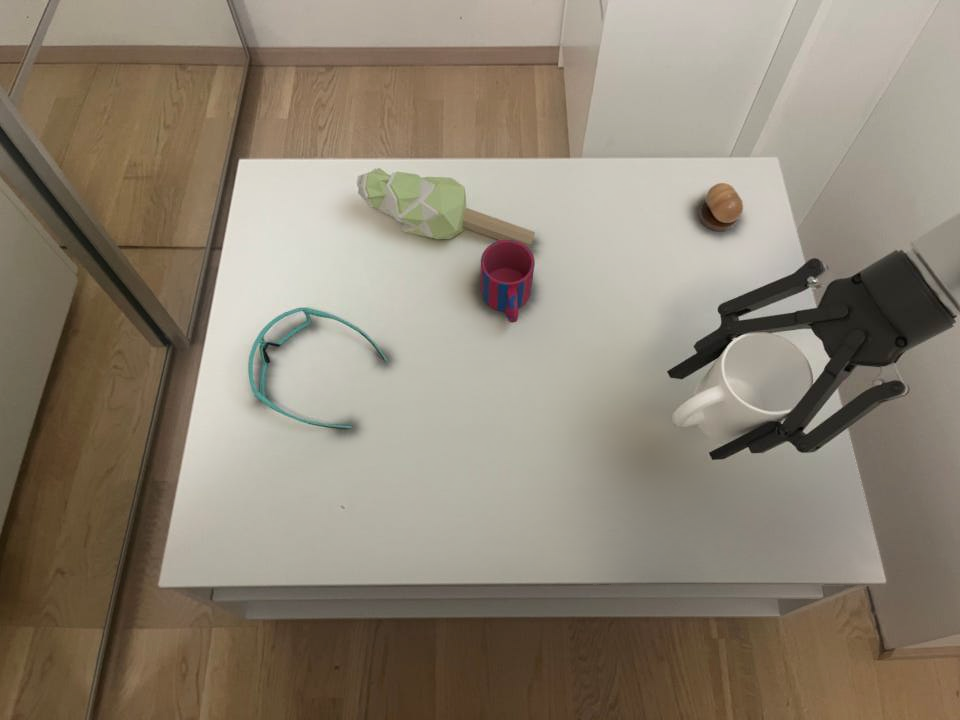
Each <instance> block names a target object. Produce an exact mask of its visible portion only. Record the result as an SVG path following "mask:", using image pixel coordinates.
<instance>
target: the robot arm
mask: <svg viewBox="0 0 960 720" xmlns="http://www.w3.org/2000/svg"><path fill="white" fill-rule="evenodd" d="M909 246H910V247H911V249H910V250H909V249H908V251H904V250H903V249H900V250H897V249H895V250H893V251H892V252H890V253H889V254H888V253H887V254H886V255H885V256H883V257H882V258H880V259H878V260H877V261H875V262H872V264H870V265H868V266H867V267H864V268H862V270H860V271H858V272H857V273H855V274H853V275H852V276H848V277H843V278H837V277H836V276H835V275H834V274H833V273H832V272H831V271H830V268H829V265H827V264H826V263H825V262H823V261H822V260H820V259H819V258H818V257H817V258H816V257H812V258H810V259H809V260H808V261H806V262H805V263H804V264H803V265H801V267H799V268H798V269H797V270H796V271H794V272H793V273H792V274H789V275H786V276H784V277H782V278H779V279H777V280H775V281H772V282H769V283H767V284H765V285H762V286H760V287H758V288H755V289H752V290H751V291H748V292H746V293H743V294H741V295H739V296H737V297H733V298H731V299H729V300H726V301H724V302H722V303H720V304H719V305H718V306H717V313H718V315H719V316H720V325H719V327H718V328H717V329H715V330H714V331H712V332H711V333H709V334H707V335H706V336H703V338H701V339H699V340H697V341H696V342H695V343H694V345H693V348H694V350H695V351H696V353H694V354H692V355H691V356H689V357H688V358H686V359H685V360H683V361H681V362H679V363H678V364H676V365H674V366H673V367H671V368H670V369H668V370H667V371H666V372H667V375H668V376H669V378H670V379H675V380H684V379H685V378H687V377H689V376H691V375H692V374H694V373H696V372H697V371H699V370H701V369H702V368H704V367H706V366H707V365H709V364H711V363H712V362H714V361H716V360H717V359H718V358H719V357H720V355H721V354H722V353H723V351H724V350H725V349H726V347H727V346H728V345H729V344H730V343H731V342H732V341H733V340H734V339H736V338H737V337H739V336H741V335H744V334H747V333H757V332H767V333H772V334H777V333H782V332H791V331H799V330H811V331H812V333H813V334H814V335H815V337H816V338H818V339H819V340H820V341H821V343H822V346H823V349H824V352H825V353H826V355H827V356H828V358H829V361H828V362H827V363H826V364H825V366H824V368H823V370H822V372H821V373H820V375H819V376H818V377H817V378H816V379H815V381H813V385H812V386H811V387H810V389H809V390H808V391H807V393H806V394H805V395H804V396H803V398H802V399H801V400H800V401H799V403H798V404H797V405H796V407H795V408H794V409H793V410H792V412H791V413H790V414H789V415H788V417H787V418H786V419H785V420H784V421H783V422H775V421H770V422H768V423H766V424H764V425H762V426H760V427H758V428H756V429H754V430H752V431H750V432H748V433H746V434H744V435H742V436H741V437H739V438H737V439H735V440H733V441H731V442H729V443H727V444H725V445H721V446H719V447H717V448H715V449H713V450H711V451H709V452H708V454H709V457H710V458H711V460H712V461H720V460H725V459H727V458H729V457H731V456H733V455H735V454H737V453H739V452H741V451H743V450H745V449H747V448H748V450H749V452H750V454H764V453H766V452H768V451H770V450H772V449H774V448H776V447H779V446H781V445H782V444H785V443H787V442H788V443H789V444H791V445H793V447H795V449H796V450H797V451H798V452H799V453H801V454H809V453H810V454H811V453H816V452H817V451H818V450H820V449H821V448H822V447H824V446H825V445H826V444H828V443H830V442H831V441H832V440H834V439H835V438H836V437H838V436H839V435H841V433H843V432H844V431H846V430H848V429H849V428H850V427H851V426H852V425H854V424H855V423H857V422H858V421H860V420H861V419H863V418H864V417H865V416H866V415H868V414H869V413H871V412H872V411H873V410H875V409H876V408H877V407H879V406H880V405H882V404H883V403H886V402H889V401H893V400H897V399H899V398H902V397H906V396H907V395H909V393H910V390H911V388H910V386H909V384H908V383H906V382H904V380H903V378H902V376H901V374H900V372H899V369H898V366H897V365H896V364H897V362H898V361H899V359H900V358H901V357H902V356H903V355H904V354H905V353H906V352H908V351H909V350H912V348H915V347H917V346H919V345H920V344H922V343H925V342H927V341H929V340H930V339H932V338H935V337H936V336H938V335H941V334H942V333H944V332H946V331H948V330H950V329H952V328H954V327H955V325H954V324H956V323H957V321H956V318H958V317H959V316H960V212H958V213H956V214H954V215H953V216H950V217H949V218H947V219H945V220H944V221H942V222H941V223H939V224H937V225H935V226H933V227H932V228H930V229H929V230H927V231H925V232H923V233H922V234H920V235H918V236H917V237H915V238H914V239H912V240H911V241H910V244H909ZM822 287H825V291H824V292H823V294H822V297H821V299H820V301H819V303H818V305H817V307H813V308H807V309H801V310H796V311H794V312H786V313H781V314H779V313H778V314H775V315H766V316H759V317H753V318H747V319H740V317H743V316H745V315H747V314H750V313H752V312H755V311H757V310H760V309H763V308H765V307H768V306H770V305H772V304H775V303H777V302H780V301H782V300H785V299H787V298H790V297H793V296H795V295H797V294H800V293H803V292H805V291H806V290H808V289H813V290H818V289H820V288H822ZM858 366H859V367H870V368H871V367H873V368H879V369H880V372H879V374H878V375H877V376H875V377H874V378H873V379H872V381H871V386H872V387H870V388H868V389H866V390H864V391H863V392H861V393H859V394H858V395H857V396H855V397H854V398H853V399H852V400H850V401H849V402H847V404H845V405H844V406H842V407H840V408H839V409H838V410H837V411H835V412H834V413H833V414H831V415H830V416H829V417H828V418H826V419H825V420H824V421H822V422H821V423H820V424H818V425H816V427H814V428H813V429H811V430H809V432H807V433H806V432H804V431H805V429H806V428H807V427H808V426H809V425H810V423H811V422H812V421H813V420H814V418H815V417H816V416H817V414H818V413H819V412H820V411H821V410H822V408H823V407H824V406H825V404H826V403H827V402H828V401H829V399H830V398H832V396H833V395H834V393H835V392H836V391H837V390H838V388H839V387H840V386H841V384H842V383H843V382H844V381H845V380H847V379H848V378H849V377H850V375H852V373H853V372H854V370H856V368H857V367H858Z"/></svg>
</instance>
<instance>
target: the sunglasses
mask: <svg viewBox="0 0 960 720" xmlns="http://www.w3.org/2000/svg"><path fill="white" fill-rule="evenodd" d="M301 312H302V313H304V315H305V319H306V321H305V322H303V323H301V324H300V325H298V326H297V327H294V328H293V329H292V330H290V331H289V332H288V333H286V334H285V335H284V336H283V337H281V338H280V339H279V340H278V341H277V342H275V341H268V340H267V341H266V340H265V335H266V334H267V333H268V331H269V330H270V329H271V328H272V327H273V326H274V325H275V324H276V323H278V322H279V321H281V320H282V319H284V318H287V317H288V316H291V315H294V314H295V313H301ZM311 316H315V317H318V318H325V319H330V320H334V321H336V322H340V323H341V324H343V325H345V326H347V327H349V328H350V329H352V330H354V331H355V332H357V333H359V334H360V335H361V336H362V337H364V338H365V339H366V340H367V341H368V342H369V343H370V344H371V345H372V347H373V348H374V349H375V350H376V351H377V352H378V353H379V355H380V356H381V358H382V359H383V360H384V361H386V362H388V358H387V357H386V356H385V354H384V353H383V352H382V350H381V349H380V348H379V347H378V345H377V343H375V342H374V340H372V338H371V337H370V336H369V335H367V333H365V332H364V331H363V330H361V329H360V328H359V327H358V326H355V325H354V324H352V323H350V322H348V321H346V320H344V319H343V318H340V317H338V316H336V315H333V314H331V313H328V312H326V311H322V310H319V309H318V310H317V309H314V308H311V307H296V308H293V309H290V310H288V311H284V312H283V313H281V314H279V315H277V316H276V317H274V318H273V319H272V320H271V321H269V322H268V323H267V324H266V325H265V326H264V327H263V328H262V329H261V331H260V332H259V333H258V334H257V337H256V338H255V340H254V342H253V344H252V347H251V350H250V352H249V356H248V366H247V367H248V368H247V370H248V371H247V373H248V378H249V383H250V387H251V391H252V393H253V396H254V397H255V398H256V399H258V400H259V401H260V402H261V403H263V404H264V405H265V406H266V407H268V408H270V409H271V410H273V411H276V412H277V413H279V414H281V415H283V416H286V417H289V418H291V419H294V420H296V421H298V422H301V423H304V424H308V425H312V426H318V427H323V428H331V429H345V430H346V429H352V428H353V426H351V425H339V424H329V423H322V422H316V421H312V420H308V419H305V418H300V417H298V416H296V415H293V414H291V413H289V412H287V411H285V410H284V409H282V408H280V406H277V405H275V404H274V403H273V402H271V401H270V400H269V399H268V398H267V397H266V392H265V383H266V382H265V381H266V373H267V369H268V364H269V363H271V360H270V357H269V354H268V351H267V348H268V347H269V346H272V347H276V348H280V346H281V345H282V344H283V343H284V342H285V341H287V340H288V339H289V338H290V337H292V336H293V335H294V334H296V333H298V332H299V331H301V330H303V329H304V328H306V327H308V326H311V324H312V320H311V319H312V318H311ZM258 348H259V354H260V359H261V362H262V368H261V371H260V379H259V391H258V389H257V387H256V384H255V380H254V369H253V368H254V359H255V354H256V352H257V349H258Z"/></svg>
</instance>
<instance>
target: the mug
mask: <svg viewBox="0 0 960 720" xmlns="http://www.w3.org/2000/svg"><path fill="white" fill-rule="evenodd" d="M732 340H733V341H732V342H731V343H730V344H729V345H728V346H727V347H726V349H725V350H724V351H723V353H722V354H721V355H720V357H719V358H718V359H716V360H715V362H714V363H713V364H712V366H711V367H710V368H709V370H707V372H706V374H705V375H704V376H703V377H702V379H701V380H700V382H699V383H698V384H697V386H696V388H695V390H694V392H693V394H692V397H690V398H688V399H687V400H685V402H683V403H682V404H680V405H679V406H678V407H677V408H676V409H675V411H674V412H673V414H672V416H671V417H672V418H671V420H672V422H673V424H674V425H675V426H677V427H679V428H687V427H691V426H695V425H697V426H698V428H699V429H700V430H701V432H702V433H703V434H704V435H706V437H707V438H709V439H710V440H712V441H714V442H715V443H717V444H720V445H721V446H723V445H725V444H727V443H729V442H731V441H733V440H735V439H737V438H739V437H741V436H742V435H744V434H746V433H748V432H750V431H752V430H754V429H756V428H758V427H760V426H762V425H764V424H766V423H768V422H770V421H775V422H781V423H783V422H784V421H785V419H786V418H787V417H788V415H789V414H790V413H791V412H792V410H793V409H794V408H795V407H796V405H797V404H798V403H799V401H800V400H801V399H802V398H803V396H804V395H805V394H806V393H807V391H808V390H809V389H810V387H811V386H812V385H813V384H814V374H813V370H812V367H811V364H810V362H809V359H808V358H807V357H806V355H805V354H804V352H802V350H801V349H800V348H799V347H798V346H797V345H796V344H794V343H793V342H792V341H790V340H789V339H786V338H785V337H783V336H781V335H778V334H777V333H767V332H757V333H747V334H744V335H741V336H739V337H737V338H733V339H732Z"/></svg>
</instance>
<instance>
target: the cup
mask: <svg viewBox="0 0 960 720" xmlns="http://www.w3.org/2000/svg"><path fill="white" fill-rule="evenodd" d="M530 249H531V248H528V247H527V246H525V245H524V244H522V243H520V242H518V241H514V240H496V241H494V242H493V243H491V244H489V245H488V246H487V247H486V248H485V249H484V251H483V252H482V255H481V257H480V295H481V298H482V300H483V301H484V303H485V304H486V305H487V306H488V307H490V308H491V309H493V310H495V311H498V312H503V313H504V312H505V313H506V317H507V320H508V322H509V323H516V322H517V321H518V320H519V310H520V309H521V308H522V307H524V306H525V305H526V304H527V303H528V301H529V299H530V297H531V295H532V294H531V293H532V287H533V279H534V272H535V271H534V270H535V264H536V262H535V261H536V260H535V256H534V254H533V251H531V250H530Z"/></svg>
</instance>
